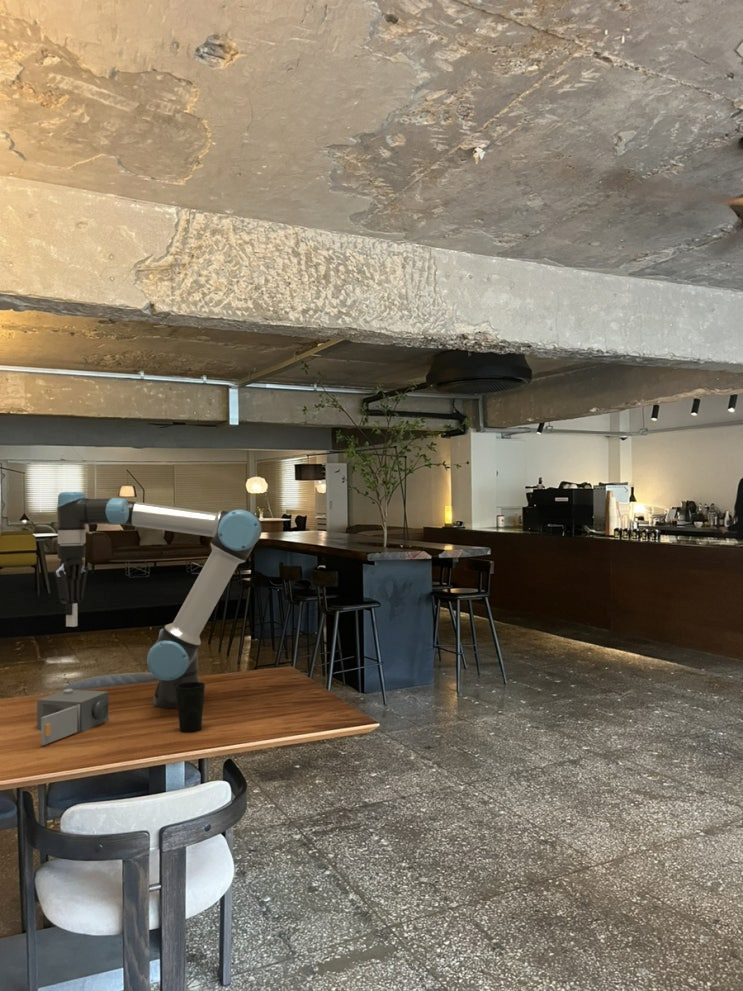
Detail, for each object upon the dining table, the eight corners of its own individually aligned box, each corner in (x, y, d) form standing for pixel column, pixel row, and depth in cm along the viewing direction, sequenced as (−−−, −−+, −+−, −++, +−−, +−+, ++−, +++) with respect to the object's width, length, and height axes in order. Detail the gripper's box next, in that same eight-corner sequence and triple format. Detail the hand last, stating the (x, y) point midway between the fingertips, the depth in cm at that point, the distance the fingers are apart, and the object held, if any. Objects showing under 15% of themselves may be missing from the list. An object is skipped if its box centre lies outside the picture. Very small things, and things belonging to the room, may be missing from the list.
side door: (74, 731, 193) (74, 706, 193) (78, 732, 192) (78, 706, 192) (41, 744, 182) (41, 717, 182) (45, 745, 181) (45, 717, 182)
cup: (178, 735, 190) (177, 689, 190) (173, 727, 197) (173, 683, 197) (207, 731, 193) (207, 686, 193) (202, 724, 200) (202, 680, 200)
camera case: (113, 720, 205) (113, 689, 205) (84, 733, 192) (84, 700, 192) (66, 717, 209) (65, 686, 209) (34, 730, 196) (34, 697, 196)
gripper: (74, 544, 217) (75, 622, 216) (45, 545, 204) (45, 629, 204) (96, 543, 215) (96, 623, 214) (68, 545, 203) (68, 629, 202)
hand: (71, 626), depth 209 cm, fingers closed
